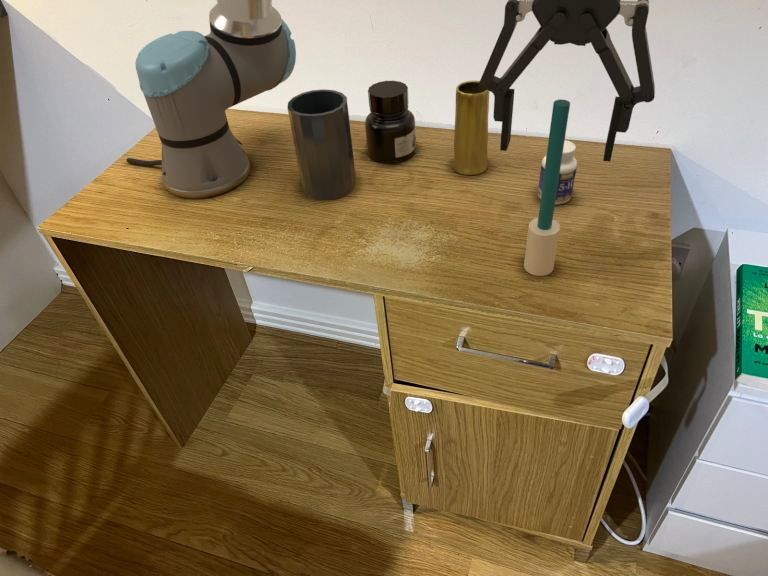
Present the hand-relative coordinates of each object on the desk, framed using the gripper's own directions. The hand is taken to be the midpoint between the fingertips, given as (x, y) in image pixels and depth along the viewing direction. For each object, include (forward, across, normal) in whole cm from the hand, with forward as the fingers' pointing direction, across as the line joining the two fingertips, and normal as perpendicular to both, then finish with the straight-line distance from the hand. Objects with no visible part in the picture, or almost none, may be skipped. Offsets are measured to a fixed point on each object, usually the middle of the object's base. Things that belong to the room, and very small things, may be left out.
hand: (555, 150), depth 70 cm
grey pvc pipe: (+18, -37, +13) cm, 43 cm away
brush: (+18, 0, 0) cm, 18 cm away
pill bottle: (+18, 0, +18) cm, 26 cm away
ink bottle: (+18, -30, +26) cm, 44 cm away
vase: (+18, -15, +24) cm, 34 cm away
